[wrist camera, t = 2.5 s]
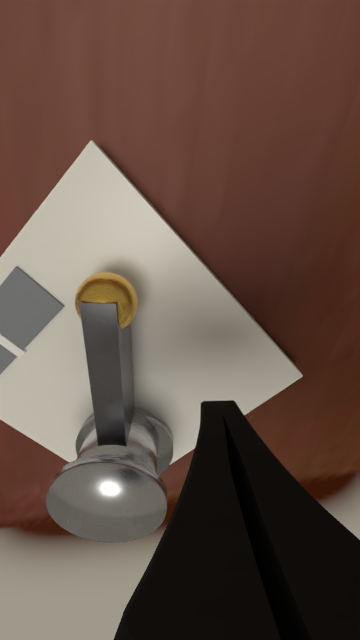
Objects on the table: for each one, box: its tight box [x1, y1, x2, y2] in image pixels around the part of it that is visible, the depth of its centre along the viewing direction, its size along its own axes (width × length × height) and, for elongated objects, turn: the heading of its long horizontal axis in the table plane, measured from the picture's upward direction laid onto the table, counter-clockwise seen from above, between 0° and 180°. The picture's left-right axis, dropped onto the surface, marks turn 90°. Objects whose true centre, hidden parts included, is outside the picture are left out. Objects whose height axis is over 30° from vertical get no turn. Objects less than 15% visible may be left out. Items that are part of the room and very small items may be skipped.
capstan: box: [46, 272, 174, 542], centre depth 15 cm, size 17×7×5 cm, turn 178°
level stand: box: [0, 140, 303, 464], centre depth 17 cm, size 18×18×2 cm
